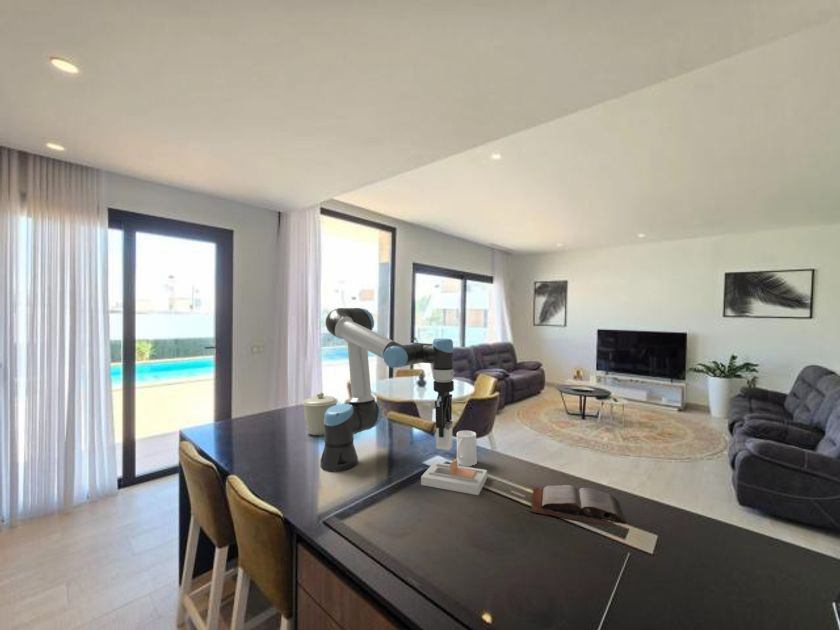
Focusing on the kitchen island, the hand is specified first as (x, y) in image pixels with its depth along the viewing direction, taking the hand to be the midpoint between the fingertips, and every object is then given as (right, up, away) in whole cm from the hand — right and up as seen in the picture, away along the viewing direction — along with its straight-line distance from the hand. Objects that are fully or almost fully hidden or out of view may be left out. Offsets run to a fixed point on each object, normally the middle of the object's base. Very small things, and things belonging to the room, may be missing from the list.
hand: (444, 443), depth 137 cm
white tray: (+4, -14, -1) cm, 14 cm away
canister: (-61, -14, +56) cm, 84 cm away
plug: (0, -2, 0) cm, 2 cm away
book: (+42, -14, -19) cm, 48 cm away
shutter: (+7, -10, -3) cm, 13 cm away
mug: (+9, -14, +15) cm, 22 cm away
